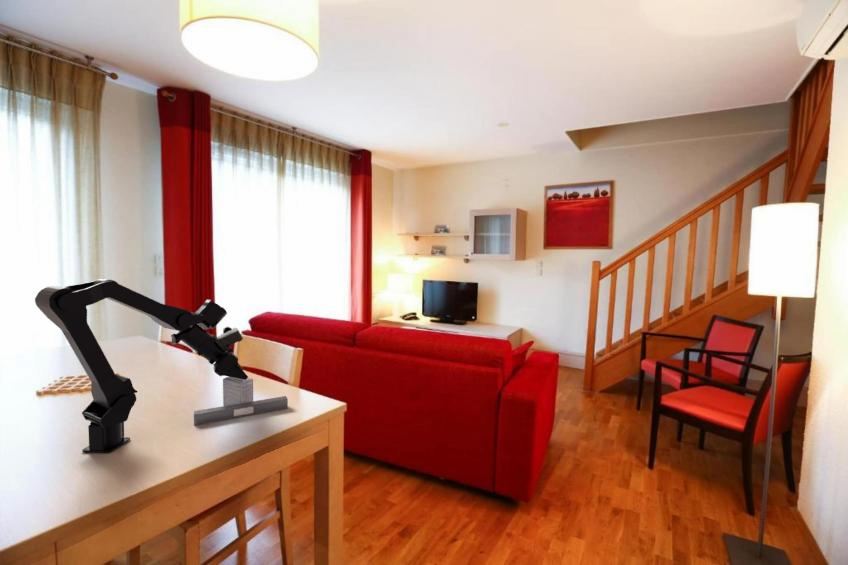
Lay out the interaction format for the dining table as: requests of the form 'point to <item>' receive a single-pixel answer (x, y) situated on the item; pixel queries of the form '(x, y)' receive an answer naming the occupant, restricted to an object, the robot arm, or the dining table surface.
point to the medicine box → (237, 391)
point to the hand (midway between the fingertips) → (244, 374)
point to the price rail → (239, 410)
